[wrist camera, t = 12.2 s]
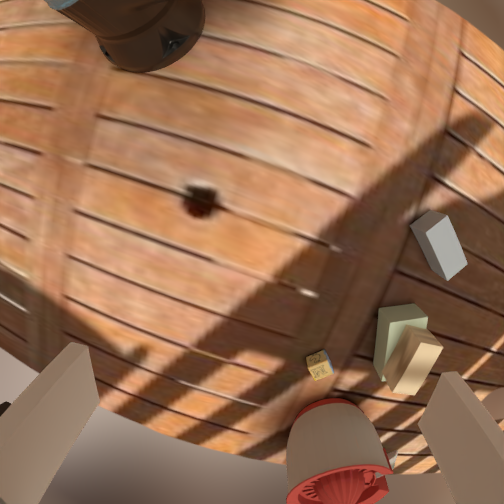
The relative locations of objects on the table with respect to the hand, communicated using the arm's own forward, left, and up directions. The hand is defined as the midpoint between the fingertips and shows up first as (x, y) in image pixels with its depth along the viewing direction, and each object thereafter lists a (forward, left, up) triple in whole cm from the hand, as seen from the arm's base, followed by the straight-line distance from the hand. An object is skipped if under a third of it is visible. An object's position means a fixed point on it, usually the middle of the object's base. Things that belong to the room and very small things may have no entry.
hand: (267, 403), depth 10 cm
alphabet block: (+19, +10, -32) cm, 39 cm away
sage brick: (+14, +21, -32) cm, 41 cm away
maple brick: (+14, +21, -27) cm, 37 cm away
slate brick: (-1, +24, -32) cm, 40 cm away
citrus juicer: (+32, +15, -32) cm, 48 cm away
